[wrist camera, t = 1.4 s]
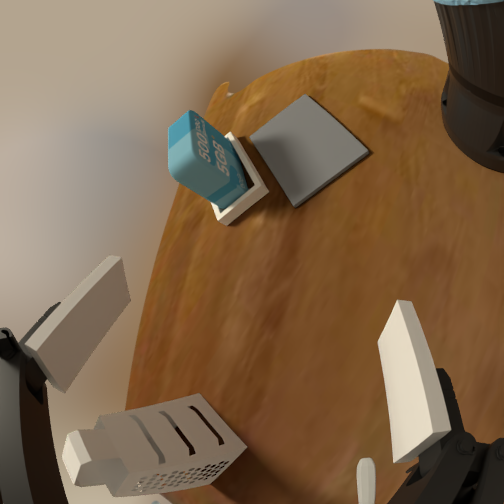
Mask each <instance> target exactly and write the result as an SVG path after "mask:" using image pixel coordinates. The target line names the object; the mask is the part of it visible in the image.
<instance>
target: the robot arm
mask: <svg viewBox="0 0 504 504" xmlns="http://www.w3.org/2000/svg"><path fill="white" fill-rule="evenodd" d="M434 3H435V6H436V10H437V13H438V17H439V20H440V24H441V28H442V33H443V37H444V41H445V46H446V51H447V56H448V61H449V71H448V75H447V79H446V82H445V86H444V89H443V93H442V97H441V110H442V119H443V123H444V126H445V129H446V131H447V133H448V135H449V136H450V138H451V139H452V141H453V142H454V143H455V145H456V146H457V147H458V148H459V149H460V150H461V151H462V152H463V153H464V154H466V155H467V156H468V157H470V158H471V159H472V160H474V161H476V162H477V163H479V164H481V165H483V166H485V167H487V168H490V169H493V170H496V171H500V172H504V0H434ZM130 301H131V299H130V295H129V291H128V286H127V282H126V277H125V272H124V268H123V262H122V258H121V257H117V256H112V255H109V256H108V257H107V258H106V259H105V260H104V261H103V262H102V263H101V264H100V265H99V266H98V267H97V268H96V269H94V270H93V271H92V272H91V274H89V275H88V276H87V277H86V278H85V279H84V280H83V281H82V282H81V283H80V284H79V285H78V286H77V287H76V288H75V289H74V290H73V291H72V292H71V293H70V294H69V295H68V296H67V297H66V298H65V300H64V301H63V302H62V303H61V302H58V303H57V304H55V305H53V306H52V307H50V308H49V309H48V311H46V313H45V314H44V316H42V317H41V318H40V319H39V320H38V322H36V324H35V325H34V326H33V327H32V328H31V329H30V330H29V332H27V334H26V335H25V336H24V337H23V338H22V339H21V341H20V342H19V343H18V342H17V341H16V339H15V337H14V335H13V334H12V332H11V330H10V329H8V328H0V504H68V500H67V497H66V494H65V491H64V487H63V483H62V480H61V476H60V472H59V468H58V463H57V459H56V454H55V449H54V443H53V438H52V431H51V424H50V416H49V408H48V397H47V387H46V384H45V381H46V380H47V379H48V380H49V382H50V383H51V385H52V386H53V387H55V388H56V389H58V390H60V391H61V392H63V393H66V391H67V390H68V388H69V387H70V385H71V383H72V382H73V380H74V379H75V377H76V376H77V374H78V373H79V371H80V370H81V369H82V367H83V366H84V364H85V363H86V361H87V360H88V358H89V357H90V356H91V354H92V353H93V351H94V350H95V348H96V347H97V346H98V344H99V343H100V341H101V340H102V339H103V337H104V336H105V335H106V333H107V332H108V330H109V329H110V327H111V326H112V325H113V323H114V322H115V321H116V320H117V318H118V317H119V316H120V314H121V313H122V312H123V310H124V309H125V308H126V306H127V305H128V304H129V302H130ZM378 347H379V352H380V357H381V363H382V369H383V375H384V381H385V387H386V394H387V401H388V409H389V418H390V427H391V437H392V449H393V463H402V462H410V461H412V460H413V459H415V458H416V457H417V456H418V457H419V462H418V463H417V464H415V465H414V466H412V467H411V468H409V469H408V470H407V471H406V473H409V472H410V471H411V473H410V474H409V476H408V477H407V479H406V480H405V481H404V483H403V484H402V485H401V487H400V488H399V489H398V491H397V492H396V493H395V495H394V496H393V497H392V498H391V500H390V501H389V502H388V503H387V504H503V503H504V438H499V439H497V440H496V441H494V442H493V443H492V444H486V443H479V442H476V440H475V438H474V437H473V436H472V435H471V434H470V433H467V432H465V430H464V427H463V423H462V419H461V415H460V411H459V407H458V403H457V400H456V399H455V397H456V396H455V393H454V391H453V386H452V383H451V379H450V377H449V376H448V374H447V373H446V372H445V370H444V369H443V368H437V369H435V366H434V362H433V359H432V356H431V353H430V350H429V347H428V344H427V341H426V338H425V336H424V333H423V330H422V327H421V325H420V322H419V319H418V317H417V314H416V312H415V309H414V307H413V304H412V302H411V301H403V300H397V302H396V304H395V306H394V308H393V311H392V313H391V315H390V317H389V319H388V322H387V324H386V326H385V328H384V330H383V332H382V334H381V336H380V338H379V340H378ZM476 485H477V486H476Z"/></svg>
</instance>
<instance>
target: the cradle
mask: <svg viewBox="0 0 504 504" xmlns="http://www.w3.org/2000/svg"><path fill="white" fill-rule="evenodd" d="M224 137H225V138H227V139H228V140H229V141H230V142H231V143H232V145H233V146H234V148H235V150H236V152H237V154H238V155H239V157H240V159H241V161H242V163H243V164H244V166H245V168H246V170H247V172H248V173H249V175H250V177H251V179H252V181H253V183H254V184H255V186H253V187H252V188H251V189H250V190H248V191H247V192H246V193H245V194H243V195H242V196H241V197H240V198H239V199H237V200H236V201H235V202H234V203H232V204H231V205H230V206H229V207H228V208H226V209H222V208H220V207H218V206H217V205H215V204H213V203H212V202H211V204H212V206H213V209H214V212H215V215H216V217H217V220H218V221H219V222H221V223H222V224H224V225H226V226H227V225H228V224H230V223H231V222H232V221H233V220H235V219H236V218H237V217H238V216H240V215H241V214H242V213H243V212H244V211H246V210H247V209H248V208H249V207H251V206H252V205H253V204H255V203H256V202H257V201H258V200H260V199H261V198H262V197H263V196H265V195H266V194H267V193H268V192H269V191H268V189H267V187H266V185H265V184H264V182H263V180H262V179H261V177H260V175H259V173H258V172H257V170H256V168H255V167H254V165H253V163H252V162H251V160H250V158H249V157H248V155H247V153H246V152H245V150H244V148H243V147H242V145H241V143H240V142H239V140H238V138H237V137H236V136H235V135H234V134H232V133H231V132H229V133H228V134H227V135H225V136H224Z"/></svg>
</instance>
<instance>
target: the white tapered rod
mask: <svg viewBox="0 0 504 504" xmlns="http://www.w3.org/2000/svg"><path fill="white" fill-rule="evenodd" d="M357 487H358V500H359V504H375V493H376V469H375V464H374V462H373V460H372V459H371V458H363V459H361V460H360V461H359V464H358V466H357Z"/></svg>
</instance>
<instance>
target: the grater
mask: <svg viewBox="0 0 504 504" xmlns="http://www.w3.org/2000/svg"><path fill="white" fill-rule="evenodd" d="M190 406H194V407H195V408H197V409H198V410H199V411H200V412H201V413H202V415H203V416H204V417H205V418H206V420H207V421H208V422H209V423H210V424H211V425H212V427H213V428H214V429H215V430H216V431H217V432H218V434H219V435H220V436H221V437H222V439H223V441H224V444H223V445H220V446H219V443H218V438H217V437H216V436H215V435H214V434H213V433H212V431H211V430H210V429H209V428H208V427H207V425H206V424H205V423H204V422H203V421H202V420H201V418H200V417H199V416H198V415H197V414H196V412H195V411H194V410H192V409H190ZM176 426H178V427H179V429H180V430H181V431H182V433H183V434H184V435H185V437H186V438H187V439H188V441H189V442H190V443H191V444H192V446H193V447H194V450H195V453H196V454H194V455H191V456H189V448H188V447H187V445H186V444H185V443H184V441H183V440H182V439H181V437H180V436H179V435H178V433H177V432H176V431H175V428H176ZM246 448H247V446H246V445H245V444H244V443H243V442H242V441H241V440H240V439H239V437H238V436H237V435H236V434H235V433H234V432H233V431H232V430H231V429H230V428H229V427H228V426H227V424H226V423H225V422H224V421H223V420H222V419H221V418H220V417H219V415H218V414H217V413H216V412H215V411H214V410H213V409H212V407H211V406H210V405H209V404H208V403H207V401H206V400H205V399H204V398H203V397H202V395H201V394H200V393H198V394H194V395H191V396H187V397H183V398H180V399H176V400H172V401H168V402H164V403H160V404H156V405H151V406H147V407H142V408H138V409H133V410H128V411H123V412H118V413H112V414H106V415H100V416H99V417H98V420H97V422H96V425H95V427H94V430H76V431H73V432H71V433H69V434H68V435H67V438H66V442H65V446H64V450H63V455H62V459H63V461H64V464H65V466H66V468H67V471H68V473H69V475H70V477H71V480H72V482H73V484H74V485H76V486H80V487H86V486H96V485H104V484H106V486H107V488H108V489H109V491H110V493H111V494H112V496H113V497H125V496H139V495H149V494H158V493H165V492H172V491H178V490H184V489H189V488H194V487H199V486H204V485H208V484H211V483H212V482H213V481H214V480H215V479H216V478H217V477H218V476H219V475H220V474H221V473H222V472H223V471H224V470H225V469H226V468H227V467H228V466H229V465H230V464H231V463H232V462H233V461H234V460H235V459H236V458H237V457H238V456H239V455H240V454H241V453H242V452H243V451H244V450H245V449H246ZM222 461H224V463H225V462H227V461H229V462H228V463H227V464H225V465H223V464H224V463H222V464H220V467H222V466H225V467H223V468H221V469H219V468H220V467H218V468H216V469H214V468H215V467H217V466H219V463H220V462H222ZM209 464H211V466H213V465H215V464H216V466H215V467H213V468H210V467H211V466H209V467H207V468H205V466H207V465H209ZM198 468H201V469H200V470H198ZM203 469H207V470H209V469H212V470H211V471H213V470H216V471H218V470H220V471H219V472H217V473H215V472H216V471H215V472H213V473H210V472H211V471H209V472H206V471H207V470H206V471H204V472H201V471H202V470H203ZM182 471H185V473H183V472H182ZM186 473H188V474H189V475H185V474H186ZM201 473H203V474H205V473H208V474H207V475H209V474H212V475H214V474H216V475H215V476H213V477H211V476H212V475H210V476H208V477H206V476H207V475H205V476H203V474H201ZM156 474H160V475H159V476H157V475H156ZM161 475H162V477H160V476H161ZM186 476H187V478H189V477H190V479H189V481H187V478H186ZM161 478H164V479H163V480H162V481H161V480H160V479H161ZM205 478H208V479H205ZM164 481H165V482H164ZM137 482H139V483H140V484H137ZM164 483H166V485H165V486H161V485H162V484H164ZM138 485H141V486H140V487H138ZM161 487H162V488H161ZM141 490H142V492H140V491H141Z"/></svg>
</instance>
